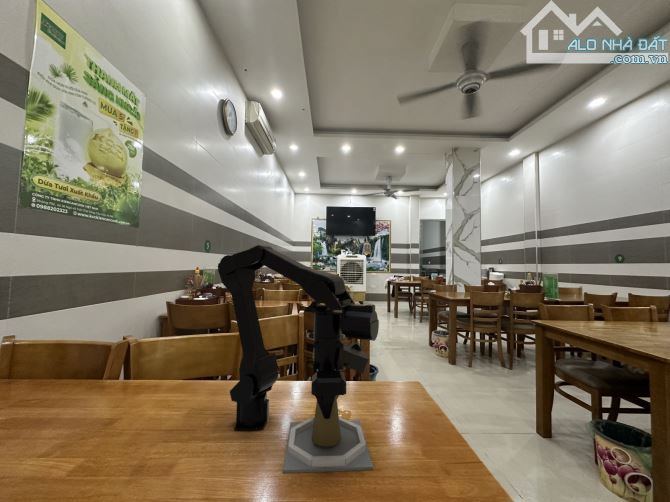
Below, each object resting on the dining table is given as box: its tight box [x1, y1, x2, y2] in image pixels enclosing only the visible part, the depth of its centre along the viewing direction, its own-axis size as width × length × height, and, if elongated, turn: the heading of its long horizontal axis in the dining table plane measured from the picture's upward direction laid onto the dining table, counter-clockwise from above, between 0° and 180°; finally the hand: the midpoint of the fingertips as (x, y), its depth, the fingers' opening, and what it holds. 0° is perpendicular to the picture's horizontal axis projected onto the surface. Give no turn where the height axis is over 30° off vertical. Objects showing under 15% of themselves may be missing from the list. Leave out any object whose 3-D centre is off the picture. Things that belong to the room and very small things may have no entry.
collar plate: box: [282, 416, 374, 474], centre depth 60 cm, size 16×16×2 cm
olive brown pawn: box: [312, 395, 341, 447], centre depth 60 cm, size 6×6×11 cm
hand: (326, 412), depth 60 cm, fingers closed on olive brown pawn, 5 cm apart
